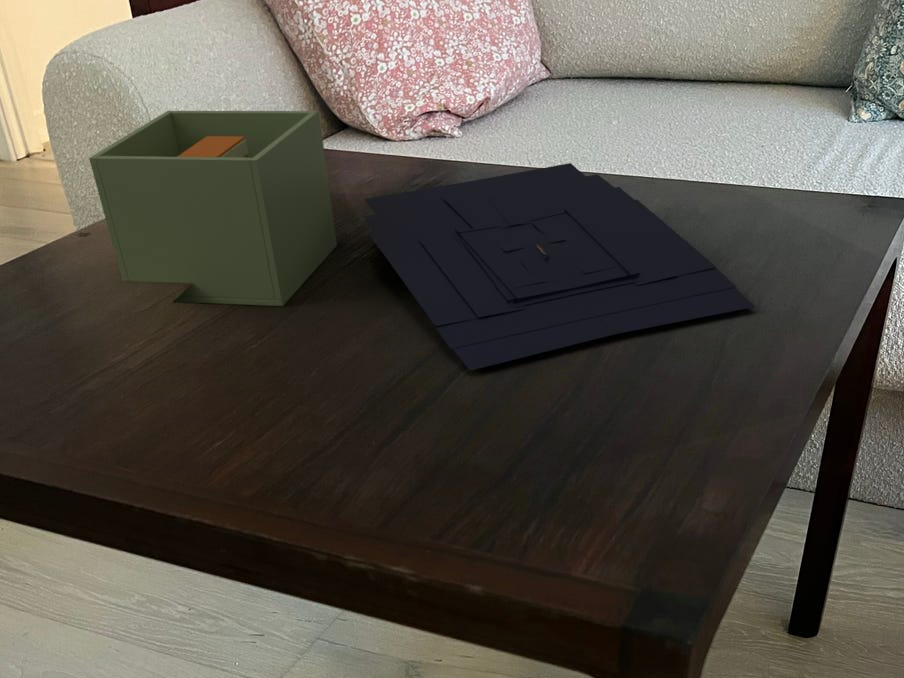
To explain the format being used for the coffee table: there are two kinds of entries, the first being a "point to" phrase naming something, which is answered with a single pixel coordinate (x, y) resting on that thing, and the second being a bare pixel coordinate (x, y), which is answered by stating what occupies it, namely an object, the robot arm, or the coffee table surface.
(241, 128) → the bin
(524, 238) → the folded navy cloth
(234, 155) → the block
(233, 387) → the coffee table surface
